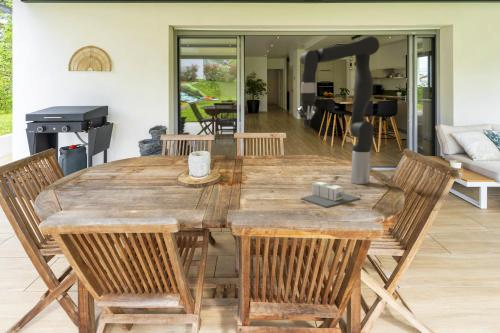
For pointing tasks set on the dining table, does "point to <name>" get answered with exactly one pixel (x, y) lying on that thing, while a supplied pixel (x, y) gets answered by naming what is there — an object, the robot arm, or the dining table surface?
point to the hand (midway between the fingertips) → (307, 126)
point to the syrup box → (327, 190)
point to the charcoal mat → (328, 202)
